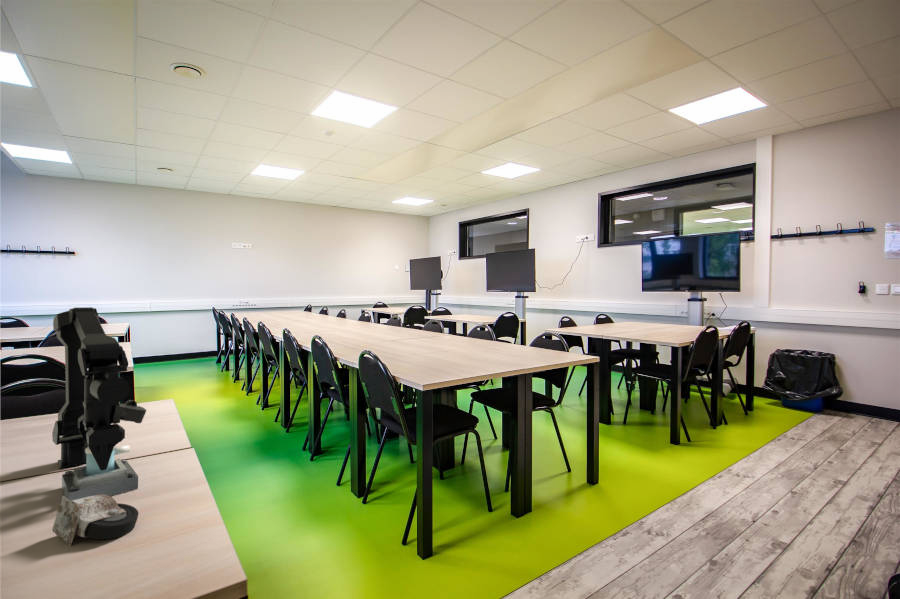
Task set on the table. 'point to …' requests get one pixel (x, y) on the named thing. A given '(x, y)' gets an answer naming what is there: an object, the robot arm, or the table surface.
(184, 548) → the table surface
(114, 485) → the grey metal socket plate
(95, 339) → the robot arm
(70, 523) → the caster wheel
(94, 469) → the pump canister
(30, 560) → the table surface
